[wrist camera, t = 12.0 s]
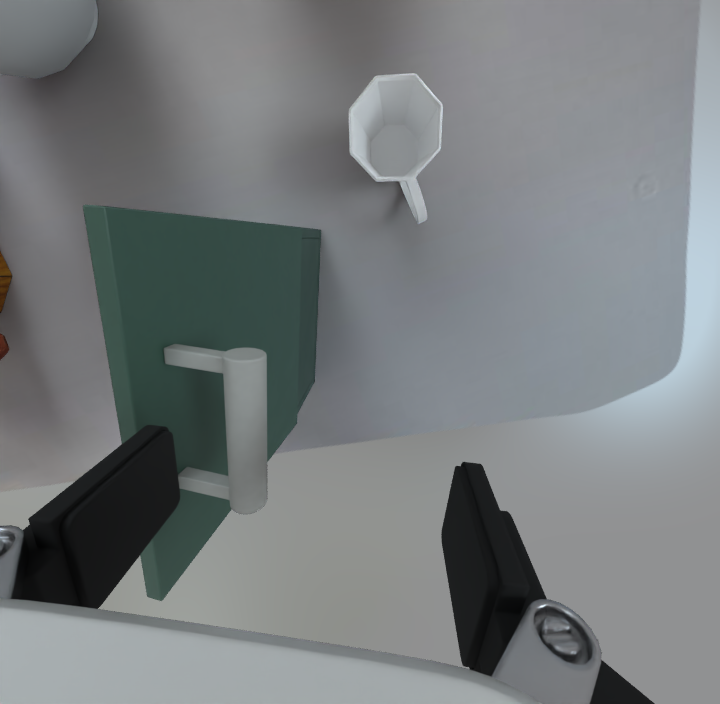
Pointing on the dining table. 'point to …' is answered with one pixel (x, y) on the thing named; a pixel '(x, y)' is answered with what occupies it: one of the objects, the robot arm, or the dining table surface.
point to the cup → (397, 133)
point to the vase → (43, 34)
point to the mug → (3, 299)
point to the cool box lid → (200, 357)
